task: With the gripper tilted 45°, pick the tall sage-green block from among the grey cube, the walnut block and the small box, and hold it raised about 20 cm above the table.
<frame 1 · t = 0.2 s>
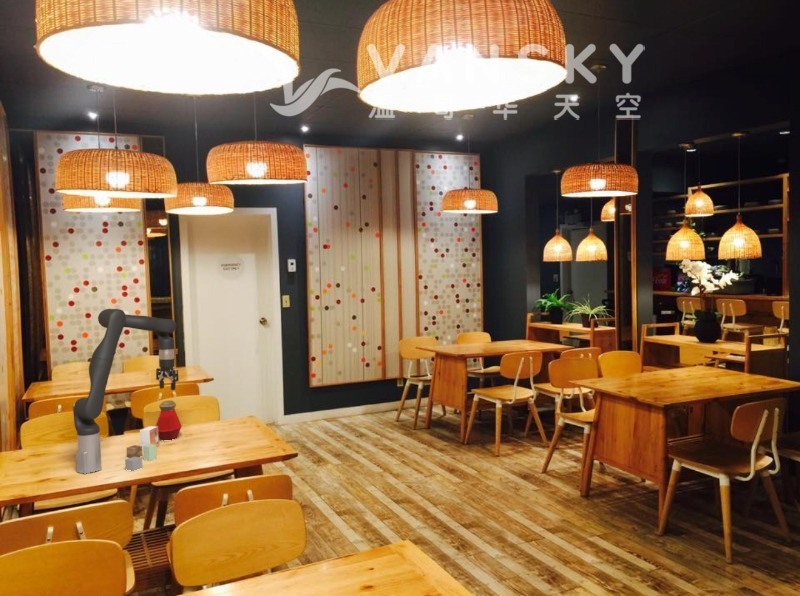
hand: (167, 389, 326), 29 cm above the table, tool pointing down, fingers open, 8 cm apart
grey cube: (134, 469, 289), on the table
walnut block: (134, 457, 309), on the table
bottle: (168, 439, 340), on the table
sage block: (150, 459, 303), on the table
small box: (149, 448, 322), on the table
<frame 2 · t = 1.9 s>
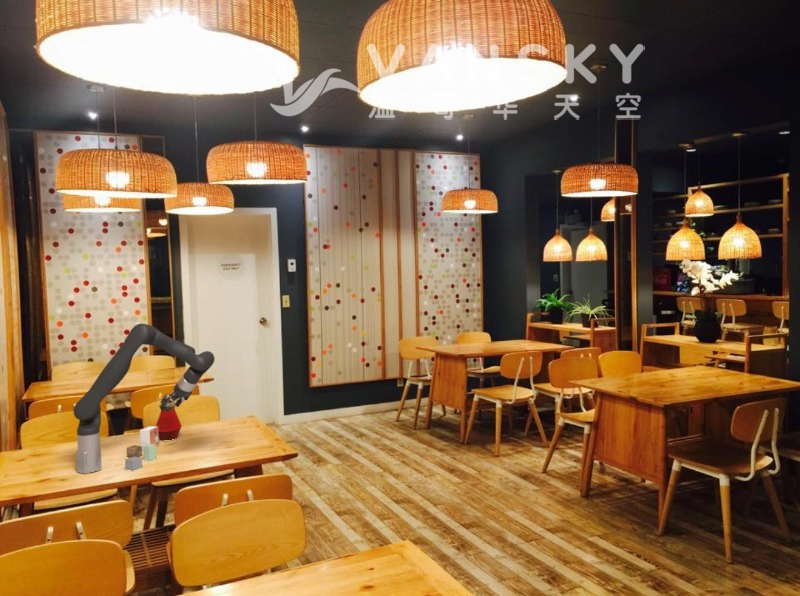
hand: (169, 407, 295), 27 cm above the table, tool tilted 45°, fingers open, 8 cm apart
nothing on the table moved.
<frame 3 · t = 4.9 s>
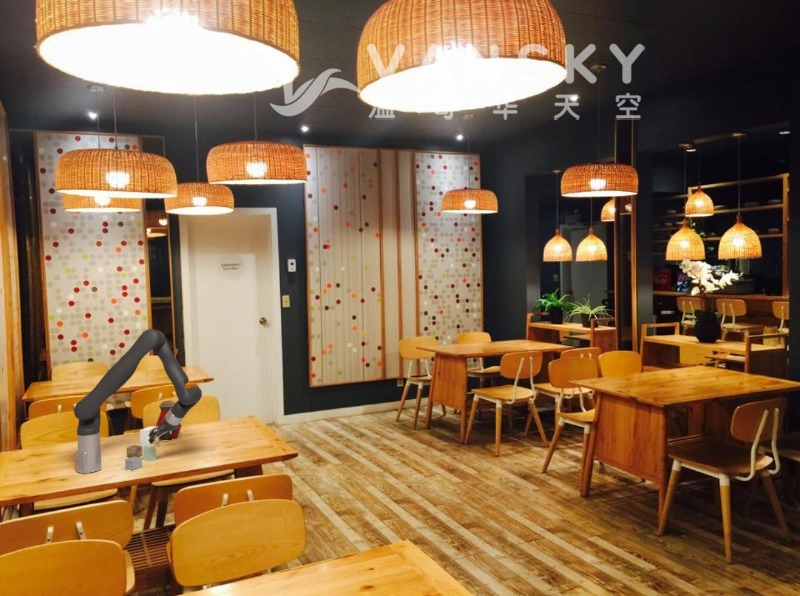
hand: (157, 439, 300), 10 cm above the table, tool tilted 45°, fingers open, 8 cm apart
nothing on the table moved.
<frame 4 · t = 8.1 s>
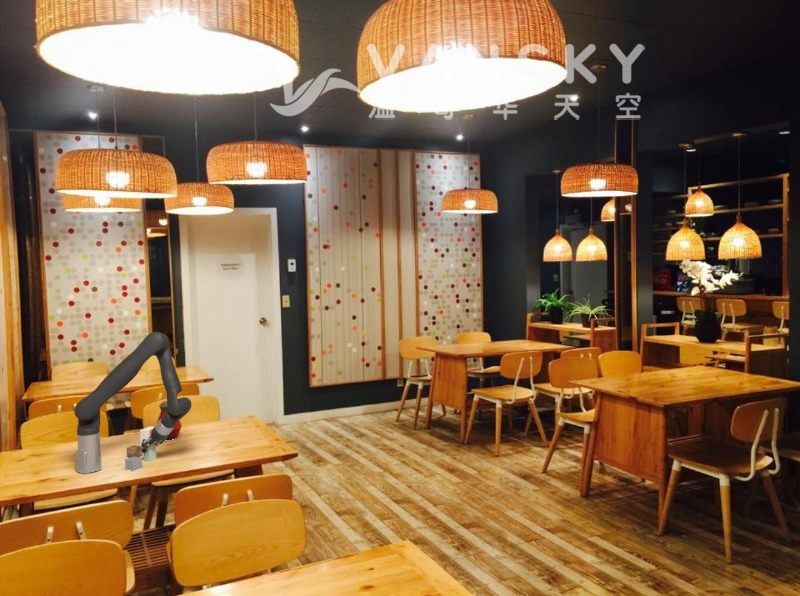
hand: (146, 450, 304), 4 cm above the table, tool tilted 45°, fingers closed on sage block, 4 cm apart
sage block: (150, 459, 303), on the table, touching gripper
everything else where it was.
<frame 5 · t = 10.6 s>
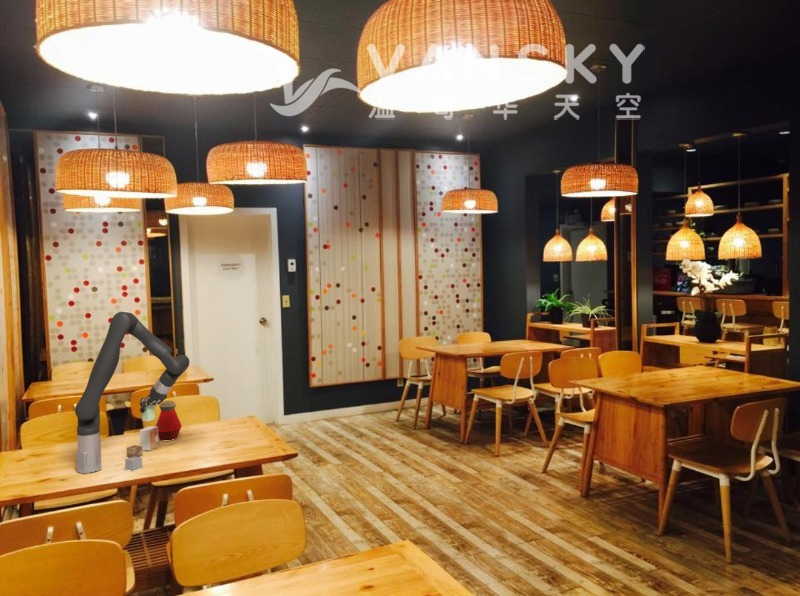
hand: (145, 410, 303), 24 cm above the table, tool tilted 45°, fingers closed on sage block, 4 cm apart
sage block: (148, 419, 302), point 19 cm above the table, touching gripper
everything else where it was.
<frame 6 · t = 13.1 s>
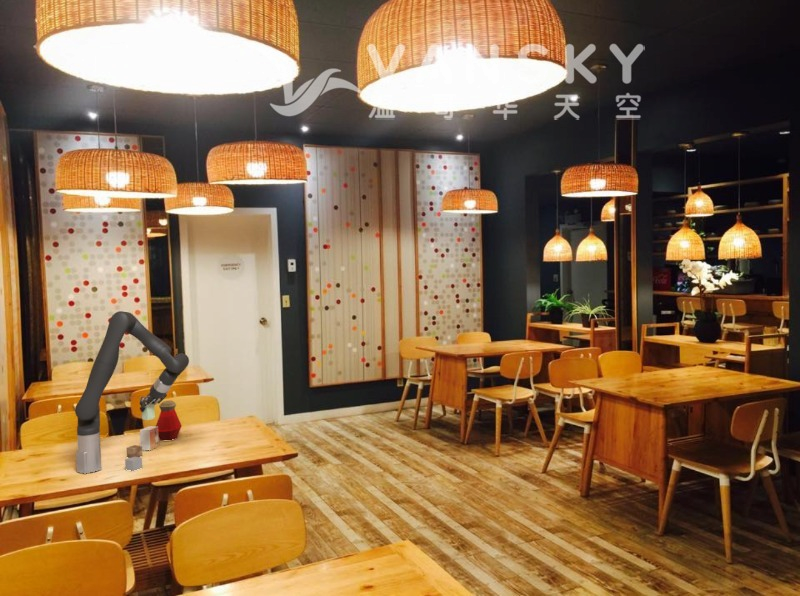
hand: (145, 409, 303), 24 cm above the table, tool tilted 45°, fingers closed on sage block, 4 cm apart
sage block: (148, 418, 302), point 20 cm above the table, touching gripper
everything else where it was.
at the end: the gripper is holding sage block; sage block point 19.9 cm above the table; grey cube moved 0.1 cm from its start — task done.
